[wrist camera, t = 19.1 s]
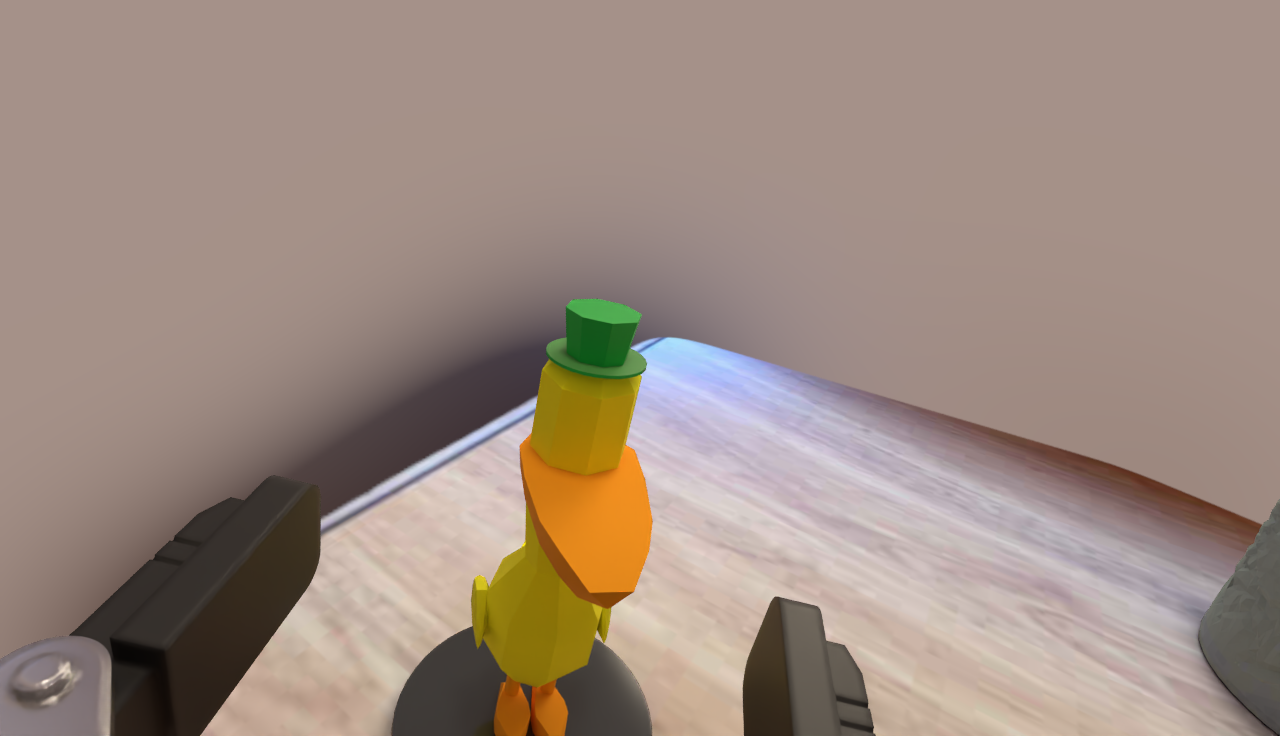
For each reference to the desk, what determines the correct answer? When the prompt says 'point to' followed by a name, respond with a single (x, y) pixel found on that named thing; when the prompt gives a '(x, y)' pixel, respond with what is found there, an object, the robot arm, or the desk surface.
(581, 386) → the toy figure
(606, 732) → the coaster
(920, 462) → the desk surface
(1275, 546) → the grey green cup
